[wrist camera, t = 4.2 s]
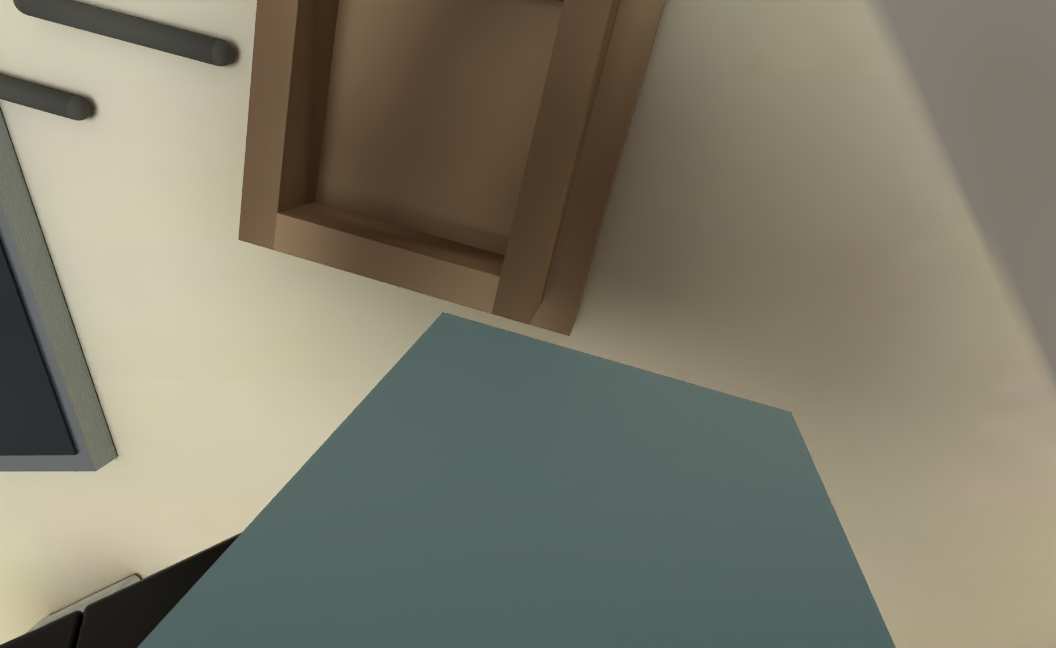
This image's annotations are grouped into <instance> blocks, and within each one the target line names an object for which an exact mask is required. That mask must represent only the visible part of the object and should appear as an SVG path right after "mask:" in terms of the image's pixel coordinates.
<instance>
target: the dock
mask: <svg viewBox="0 0 1056 648" xmlns="http://www.w3.org/2000/svg"><path fill="white" fill-rule="evenodd" d="M664 2H665V0H257V10H256V23H255V36H254V49H253V61H252V74H251V87H250V100H249V113H248V125H247V138H246V151H245V164H244V177H243V189H242V202H241V215H240V228H239V240H241V241H245V242H248V243H252V244H255V245H258V246H262V247H265V248H269V249H272V250H276V251H279V252H282V253H286V254H289V255H293V256H296V257H299V258H303V259H306V260H310V261H313V262H317V263H320V264H323V265H327V266H330V267H334V268H337V269H341V270H344V271H347V272H351V273H354V274H358V275H361V276H365V277H368V278H371V279H375V280H378V281H382V282H385V283H388V284H392V285H395V286H399V287H402V288H406V289H409V290H412V291H416V292H419V293H423V294H426V295H430V296H433V297H436V298H440V299H443V300H447V301H450V302H453V303H457V304H460V305H464V306H467V307H471V308H474V309H477V310H481V311H484V312H488V313H491V314H495V315H498V316H501V317H505V318H508V319H512V320H515V321H519V322H522V323H525V324H530V325H534V326H537V327H541V328H544V329H547V330H551V331H554V332H558V333H561V334H565V335H568V336H570V333H571V331H572V328H573V325H574V321H575V317H576V314H577V310H578V307H579V303H580V300H581V296H582V293H583V289H584V286H585V282H586V278H587V275H588V271H589V268H590V264H591V261H592V257H593V254H594V250H595V247H596V243H597V240H598V236H599V232H600V229H601V225H602V222H603V218H604V215H605V211H606V208H607V204H608V201H609V197H610V193H611V190H612V186H613V183H614V179H615V176H616V172H617V169H618V165H619V162H620V158H621V154H622V151H623V147H624V144H625V140H626V137H627V133H628V130H629V126H630V123H631V119H632V115H633V112H634V108H635V105H636V101H637V98H638V94H639V91H640V87H641V84H642V80H643V77H644V73H645V69H646V66H647V62H648V59H649V55H650V52H651V48H652V45H653V41H654V38H655V34H656V30H657V27H658V23H659V20H660V16H661V13H662V9H663V6H664Z"/></svg>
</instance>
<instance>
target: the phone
mask: <svg viewBox="0 0 1056 648" xmlns="http://www.w3.org/2000/svg"><path fill="white" fill-rule="evenodd" d="M115 458H117V454H116V451H115V448H114V445H113V442H112V439H111V436H110V433H109V430H108V427H107V424H106V421H105V418H104V416H103V413H102V410H101V407H100V404H99V401H98V398H97V395H96V392H95V389H94V386H93V383H92V380H91V377H90V374H89V371H88V368H87V365H86V362H85V359H84V356H83V353H82V350H81V347H80V344H79V342H78V339H77V336H76V333H75V330H74V327H73V324H72V321H71V318H70V315H69V312H68V309H67V306H66V303H65V300H64V297H63V294H62V291H61V288H60V285H59V282H58V279H57V276H56V273H55V270H54V268H53V265H52V262H51V259H50V256H49V253H48V250H47V247H46V244H45V241H44V238H43V235H42V232H41V229H40V226H39V223H38V220H37V217H36V214H35V211H34V208H33V205H32V202H31V199H30V196H29V194H28V191H27V188H26V185H25V182H24V179H23V176H22V173H21V170H20V167H19V164H18V161H17V158H16V155H15V152H14V149H13V146H12V143H11V140H10V137H9V134H8V131H7V128H6V125H5V122H4V120H3V117H2V114H1V111H0V471H97V470H99V469H100V468H102V467H103V466H105V465H106V464H108V463H109V462H111V461H112V460H114V459H115Z"/></svg>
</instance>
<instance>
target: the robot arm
mask: <svg viewBox="0 0 1056 648" xmlns="http://www.w3.org/2000/svg"><path fill="white" fill-rule="evenodd" d="M240 534H241V533H239V534H237V535H235V536H233V537H231V538H229V539H227V540H225V541H222V542H220V543H218V544H216V545H214V546H212V547H210V548H208V549H205V550H203V551H201V552H199V553H197V554H195V555H193V556H191V557H189V558H186V559H184V560H182V561H180V562H178V563H176V564H174V565H172V566H169V567H167V568H165V569H163V570H161V571H159V572H157V573H155V574H152V575H150V576H148V577H146V578H144V579H142V580H140V581H138V582H136V583H133V584H131V585H129V586H127V587H125V588H123V589H121V590H119V591H116V592H114V593H112V594H110V595H108V596H106V597H104V598H102V599H99V600H97V601H95V602H93V603H91V604H89V605H87V606H86V607H85V609H84V612H82V611H80V610H76V611H73V612H71V613H69V614H67V615H65V616H63V617H61V618H59V619H56V620H54V621H52V622H50V623H48V624H46V625H44V626H42V627H39V628H37V629H35V630H33V631H31V632H28V633H26V634H24V635H22V636H20V637H17V638H15V639H13V640H11V641H8V642H6V643H4V644H2V645H0V648H137V647H138V646H139V645H140V644H141V643H142V642H143V641H144V640H145V638H146V637H147V636H148V635H149V634H150V633H151V632H152V631H153V630H154V629H155V628H156V626H157V625H158V624H159V623H160V622H161V621H162V620H163V619H164V618H165V617H166V615H167V614H168V613H169V612H170V611H171V610H172V609H173V608H174V607H175V606H176V604H177V603H178V602H179V601H180V600H181V599H182V598H183V597H184V596H185V595H186V594H187V592H188V591H189V590H190V589H191V588H192V587H193V586H194V585H195V584H196V583H197V581H198V580H199V579H200V578H201V577H202V576H203V575H204V574H205V573H206V572H207V571H208V569H209V568H210V567H211V566H212V565H213V564H214V563H215V562H216V561H217V560H218V558H219V557H220V556H221V555H222V554H223V553H224V552H225V551H226V550H227V549H228V548H229V546H230V545H231V544H232V543H233V542H234V541H235V540H236V539H237V538H238V537H239V535H240Z"/></svg>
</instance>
